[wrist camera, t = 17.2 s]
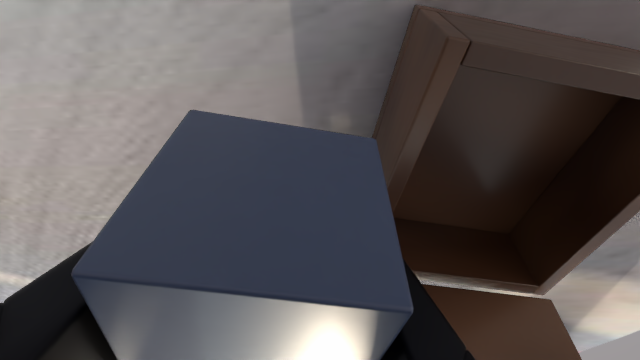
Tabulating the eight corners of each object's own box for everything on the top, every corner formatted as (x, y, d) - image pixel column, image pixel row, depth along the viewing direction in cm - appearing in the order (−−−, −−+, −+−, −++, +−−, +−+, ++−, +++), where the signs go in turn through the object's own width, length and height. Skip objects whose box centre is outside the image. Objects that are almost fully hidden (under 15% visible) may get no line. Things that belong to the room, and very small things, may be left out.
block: (339, 252, 10) (345, 414, 7) (201, 234, 10) (135, 398, 7) (377, 137, 8) (417, 312, 4) (189, 107, 7) (65, 273, 4)
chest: (415, 3, 14) (447, 35, 10) (656, 53, 15) (768, 99, 11) (347, 211, 21) (351, 272, 18) (508, 233, 23) (543, 295, 19)
